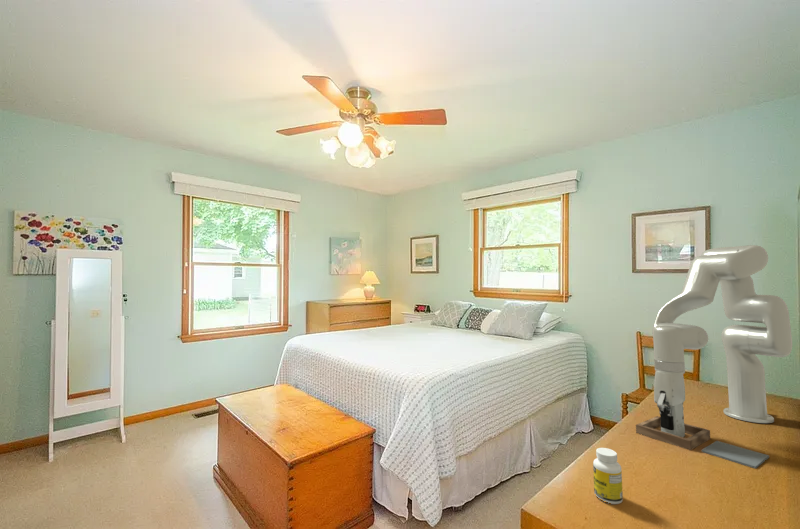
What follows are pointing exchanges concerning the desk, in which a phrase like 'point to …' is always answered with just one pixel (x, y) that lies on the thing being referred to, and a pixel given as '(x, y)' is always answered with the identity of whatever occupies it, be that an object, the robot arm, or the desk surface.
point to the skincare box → (676, 421)
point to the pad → (736, 454)
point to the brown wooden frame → (689, 443)
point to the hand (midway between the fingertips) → (672, 425)
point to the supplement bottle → (607, 476)
